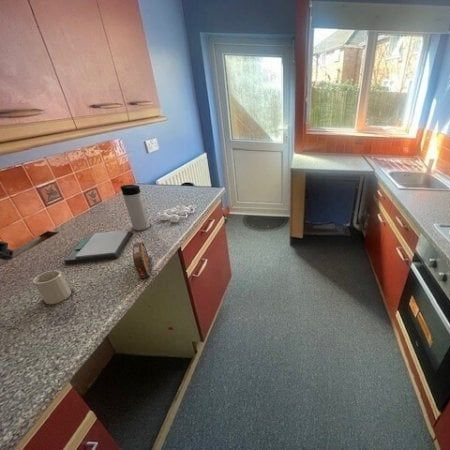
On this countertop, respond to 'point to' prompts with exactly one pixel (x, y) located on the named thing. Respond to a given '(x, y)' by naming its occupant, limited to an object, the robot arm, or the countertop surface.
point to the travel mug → (135, 207)
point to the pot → (52, 286)
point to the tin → (141, 259)
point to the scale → (99, 247)
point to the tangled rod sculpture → (174, 217)
